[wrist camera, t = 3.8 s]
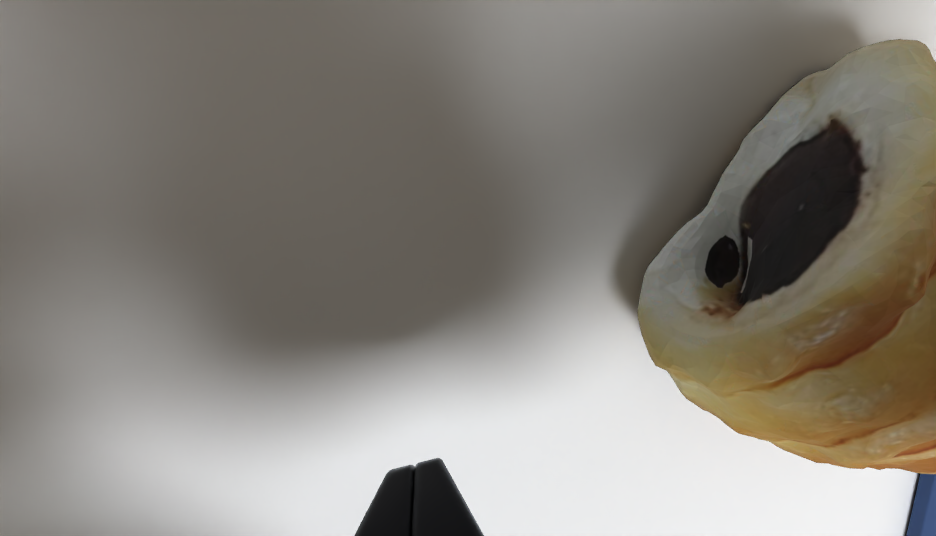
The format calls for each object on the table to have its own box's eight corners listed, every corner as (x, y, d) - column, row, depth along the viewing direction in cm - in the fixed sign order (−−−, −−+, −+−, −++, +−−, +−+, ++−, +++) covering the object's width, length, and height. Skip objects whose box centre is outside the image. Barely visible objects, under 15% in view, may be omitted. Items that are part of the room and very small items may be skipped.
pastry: (1096, 260, 11) (1390, 365, 8) (859, 467, 14) (1011, 618, 10) (822, 5, 9) (1099, -2, 5) (577, 318, 11) (656, 461, 7)
